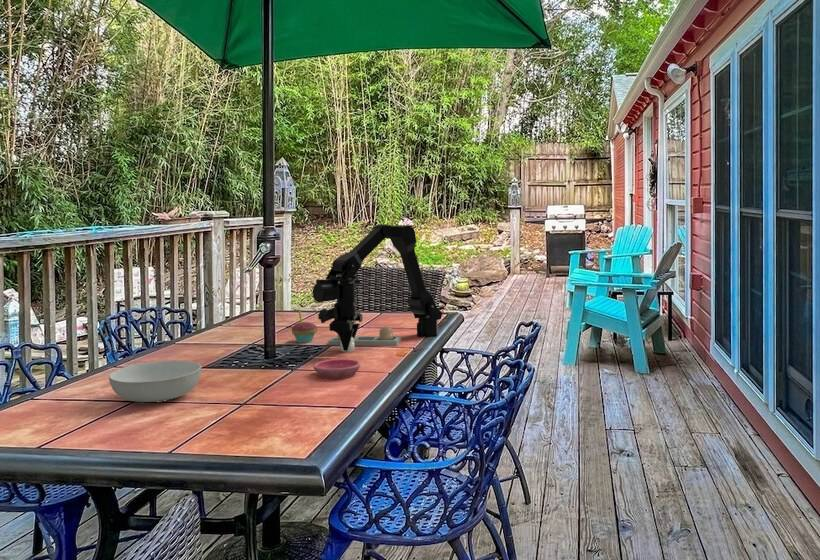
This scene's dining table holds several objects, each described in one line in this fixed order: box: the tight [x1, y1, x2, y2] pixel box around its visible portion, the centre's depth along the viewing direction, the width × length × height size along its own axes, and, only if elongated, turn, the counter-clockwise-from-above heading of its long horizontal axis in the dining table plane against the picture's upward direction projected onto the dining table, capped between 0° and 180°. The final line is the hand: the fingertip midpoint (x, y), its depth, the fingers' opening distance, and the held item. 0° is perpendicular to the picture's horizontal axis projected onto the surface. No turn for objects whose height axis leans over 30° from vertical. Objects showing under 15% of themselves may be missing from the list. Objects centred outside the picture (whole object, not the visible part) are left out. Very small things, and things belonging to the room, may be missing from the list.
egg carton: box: [327, 335, 402, 347], centre depth 222 cm, size 22×8×2 cm, turn 81°
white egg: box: [339, 337, 356, 353], centre depth 211 cm, size 4×4×5 cm
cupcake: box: [290, 307, 318, 344], centre depth 227 cm, size 9×8×12 cm
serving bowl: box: [108, 360, 202, 403], centre depth 164 cm, size 21×21×7 cm
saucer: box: [313, 358, 361, 380], centre depth 183 cm, size 12×12×3 cm
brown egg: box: [378, 325, 394, 340], centre depth 221 cm, size 4×4×5 cm
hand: (347, 348), depth 211 cm, fingers closed on white egg, 4 cm apart
